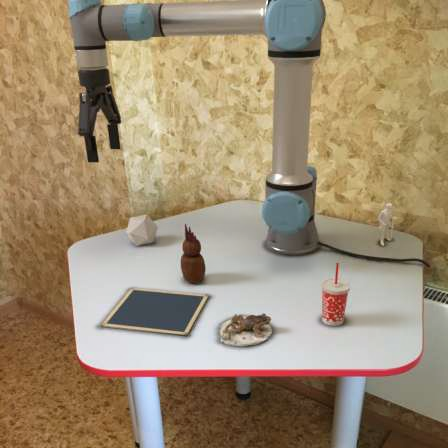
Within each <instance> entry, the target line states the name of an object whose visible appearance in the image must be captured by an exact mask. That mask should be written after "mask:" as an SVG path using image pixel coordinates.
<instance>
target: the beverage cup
mask: <svg viewBox="0 0 448 448" xmlns="http://www.w3.org/2000/svg"><path fill="white" fill-rule="evenodd" d="M335 264H336V265H335V276H334V277H330V278H327V279H324V280H322V281H321V285H320V287H321V290H322V291H321V292H322V293H321V295H322V297H321V298H322V300H321V301H322V302H321V303H322V305H321V308H322V309H321V311H322V312H321V314H322V315H321V317H322V319H321V320H322V322H323V324H325V325H326V326H330V327H331V326H332V327H337V326H340V325H342V324H343V323H344V320H345V314H346V307H347V303H348V302H347V301H348V295H349V292H350V291H351V283H350V282H349V281H347V280H346V279H342V278H339V277H338V275H339V264H340V262H336V263H335Z"/></svg>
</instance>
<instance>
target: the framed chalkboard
mask: <svg viewBox="0 0 448 448" xmlns="http://www.w3.org/2000/svg"><path fill="white" fill-rule="evenodd" d="M209 297H210V295H209V294H202V293H193V292H182V291H181V292H179V291H170V290H159V289H148V288H138V287H130V289H129V290H128V291H127V293H126V294H125V295H124V296H123V298H122V299H121V300H120V302H118V304H116V306H115V307H114V308H113V310H112V311H111V312H110V313H109V314H108V316H107V317H106V318H105V320H104V321H103V322H102V323H101V324H100V327H101V328H109V329H116V330H117V329H120V330H128V331H136V332H146V333H154V334H163V335H171V336H181V337H188V335H189V333H190V331H191V330H192V328H193V327H194V324H195V322H196V320H197V318H198V317H199V314H200V313H201V311H202V310H203V307H204V306H205V304H206V302H207V300H208V299H209Z"/></svg>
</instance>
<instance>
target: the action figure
mask: <svg viewBox="0 0 448 448" xmlns="http://www.w3.org/2000/svg"><path fill="white" fill-rule="evenodd" d="M392 209H393V204H392V203H390V202H388V203H386V204H385V208H384V209H382V210H381V211H380V212H379V214H378V215H377V218H376V220H377V222H379V226H377V228H378V230H379V231H380V234H379V241H380V242H379V244H380V246H383V247H384V246H385V243H384V241H385V239H386V240H387V241H389V242H391V241H392V239H393V233H394V227H395V221H396V220H398V217H396V216H393V215H392ZM391 219H392V222H391ZM390 228H391V233H390V237H389V229H390Z"/></svg>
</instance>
